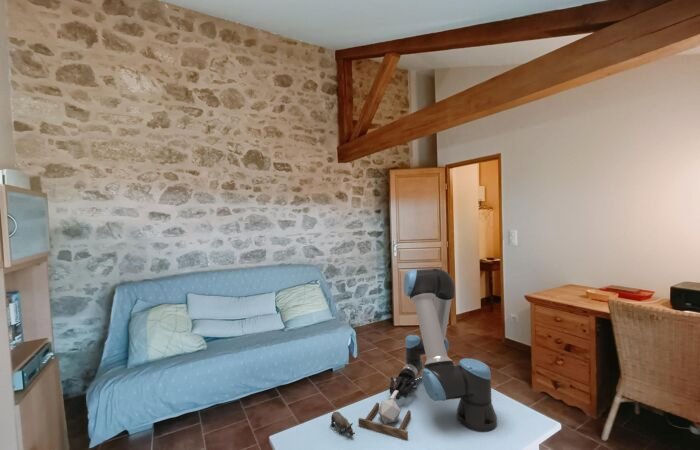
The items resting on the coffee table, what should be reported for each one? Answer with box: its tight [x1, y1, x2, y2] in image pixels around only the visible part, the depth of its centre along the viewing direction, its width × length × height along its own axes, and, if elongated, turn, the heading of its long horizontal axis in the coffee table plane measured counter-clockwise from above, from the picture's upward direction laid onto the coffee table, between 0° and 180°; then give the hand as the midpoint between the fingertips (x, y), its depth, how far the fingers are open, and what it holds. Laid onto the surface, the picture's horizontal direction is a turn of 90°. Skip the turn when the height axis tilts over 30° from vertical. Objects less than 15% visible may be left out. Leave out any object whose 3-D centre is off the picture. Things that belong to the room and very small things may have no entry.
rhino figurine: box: [330, 411, 356, 437], centre depth 124 cm, size 4×14×6 cm, turn 39°
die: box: [377, 399, 401, 425], centre depth 130 cm, size 8×9×10 cm
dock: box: [358, 402, 412, 441], centre depth 128 cm, size 20×14×3 cm
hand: (391, 401), depth 133 cm, fingers closed
